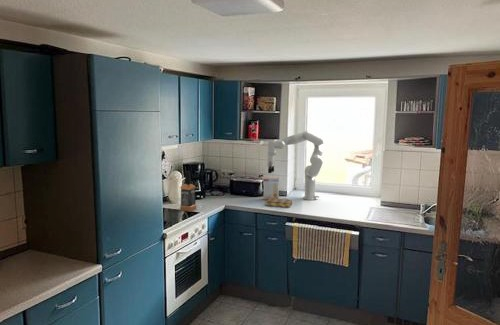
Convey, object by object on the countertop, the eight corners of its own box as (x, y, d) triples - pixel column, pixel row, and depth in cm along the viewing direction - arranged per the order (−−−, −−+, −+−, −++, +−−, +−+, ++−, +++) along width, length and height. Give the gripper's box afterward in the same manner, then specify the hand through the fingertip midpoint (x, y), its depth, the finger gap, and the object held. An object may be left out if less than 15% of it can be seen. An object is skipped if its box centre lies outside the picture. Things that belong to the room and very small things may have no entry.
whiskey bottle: (179, 210, 303) (179, 171, 299) (186, 207, 312) (186, 170, 308) (190, 211, 299) (190, 172, 295) (196, 209, 308) (196, 171, 304)
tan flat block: (292, 204, 330) (292, 199, 329) (289, 207, 316) (289, 203, 316) (270, 202, 335) (270, 198, 335) (266, 205, 322) (266, 201, 321)
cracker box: (278, 198, 349) (279, 177, 347) (278, 200, 344) (278, 178, 341) (263, 198, 351) (264, 176, 348) (263, 199, 345) (263, 177, 342)
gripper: (269, 153, 351) (269, 170, 353) (265, 154, 335) (264, 173, 337) (277, 153, 349) (276, 171, 351) (273, 155, 333) (273, 173, 335)
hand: (271, 172), depth 344 cm, fingers open, 9 cm apart
